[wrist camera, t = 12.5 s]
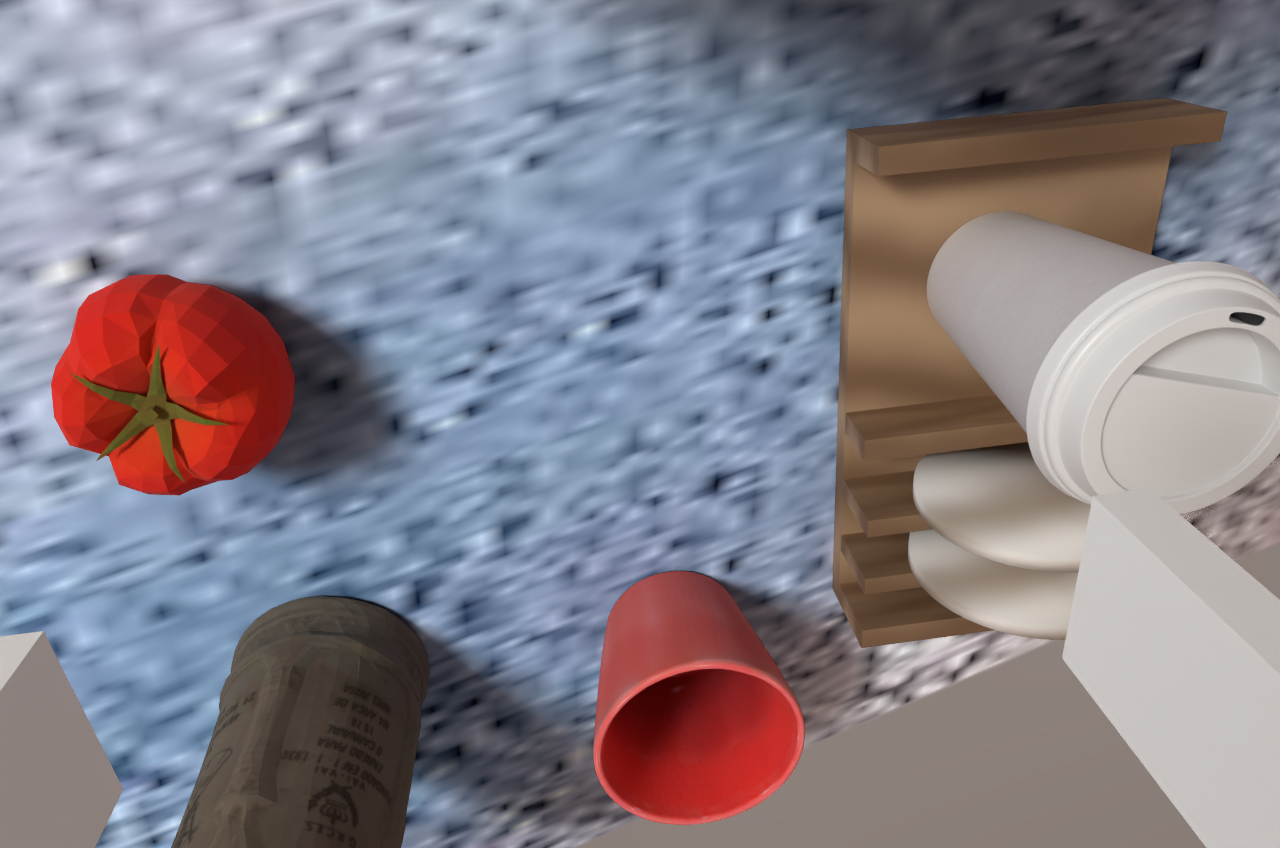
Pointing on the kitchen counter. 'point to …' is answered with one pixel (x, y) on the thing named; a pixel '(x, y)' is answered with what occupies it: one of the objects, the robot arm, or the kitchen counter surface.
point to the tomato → (173, 383)
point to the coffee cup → (1116, 357)
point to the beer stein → (313, 732)
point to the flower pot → (690, 705)
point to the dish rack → (967, 365)
